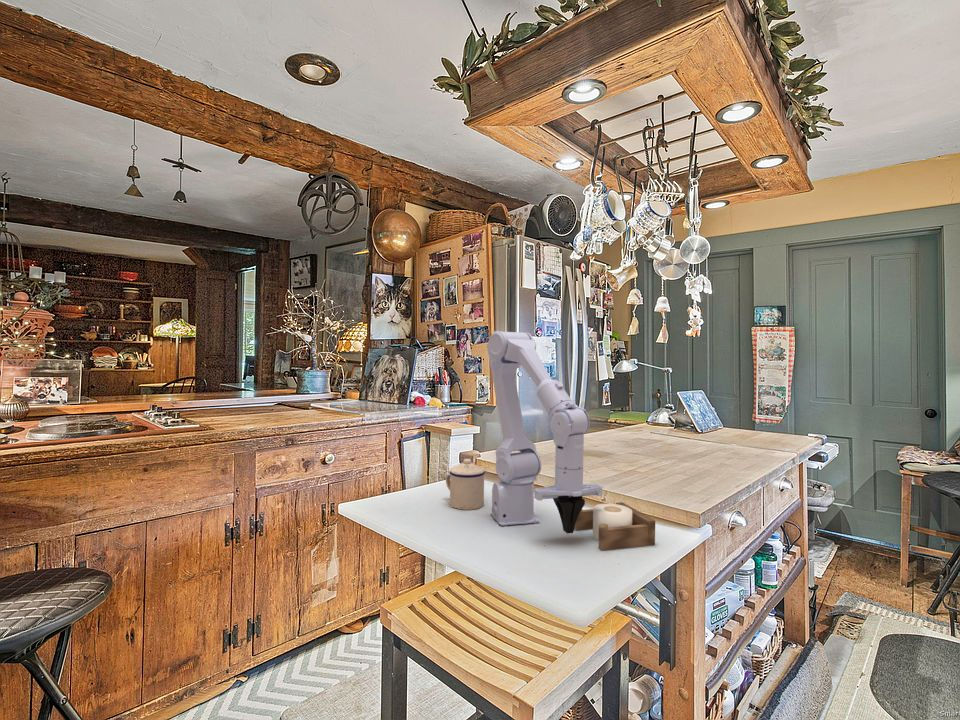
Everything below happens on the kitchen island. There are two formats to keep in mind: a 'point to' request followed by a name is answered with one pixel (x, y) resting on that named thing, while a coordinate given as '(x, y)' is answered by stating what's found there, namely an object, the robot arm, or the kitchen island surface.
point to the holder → (620, 530)
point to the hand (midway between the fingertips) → (568, 531)
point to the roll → (610, 516)
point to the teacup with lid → (466, 486)
